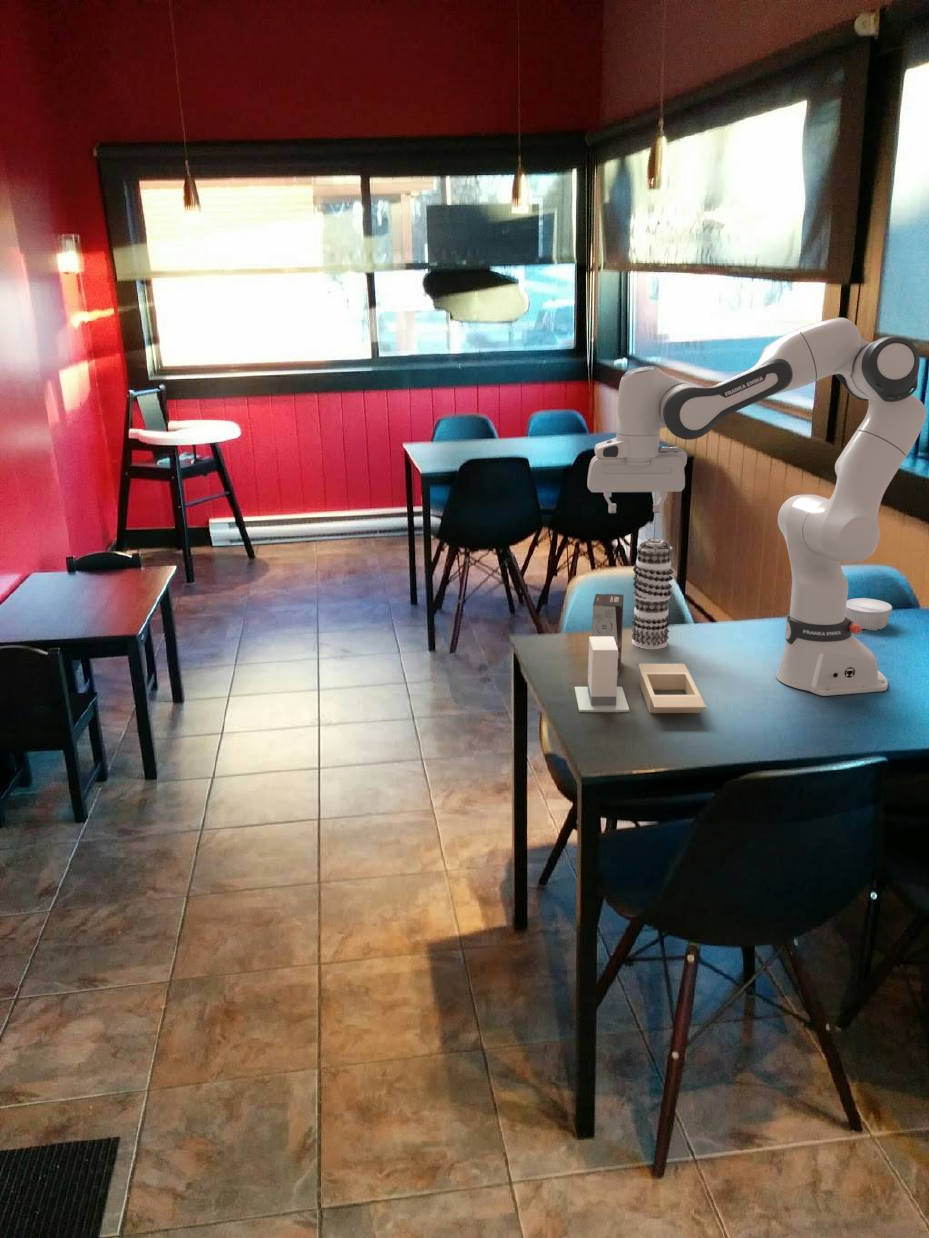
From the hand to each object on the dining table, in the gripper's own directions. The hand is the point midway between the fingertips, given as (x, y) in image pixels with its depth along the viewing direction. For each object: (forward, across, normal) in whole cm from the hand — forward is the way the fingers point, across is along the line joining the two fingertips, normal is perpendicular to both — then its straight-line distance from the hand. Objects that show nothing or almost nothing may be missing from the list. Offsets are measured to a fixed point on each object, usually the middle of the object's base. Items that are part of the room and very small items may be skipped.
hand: (634, 512), depth 212 cm
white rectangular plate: (+35, +8, +19) cm, 41 cm away
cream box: (+35, +8, +19) cm, 40 cm away
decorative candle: (+35, -7, -15) cm, 39 cm away
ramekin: (+35, -62, -28) cm, 77 cm away
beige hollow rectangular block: (+35, -6, +19) cm, 40 cm away
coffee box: (+35, +5, +1) cm, 36 cm away
